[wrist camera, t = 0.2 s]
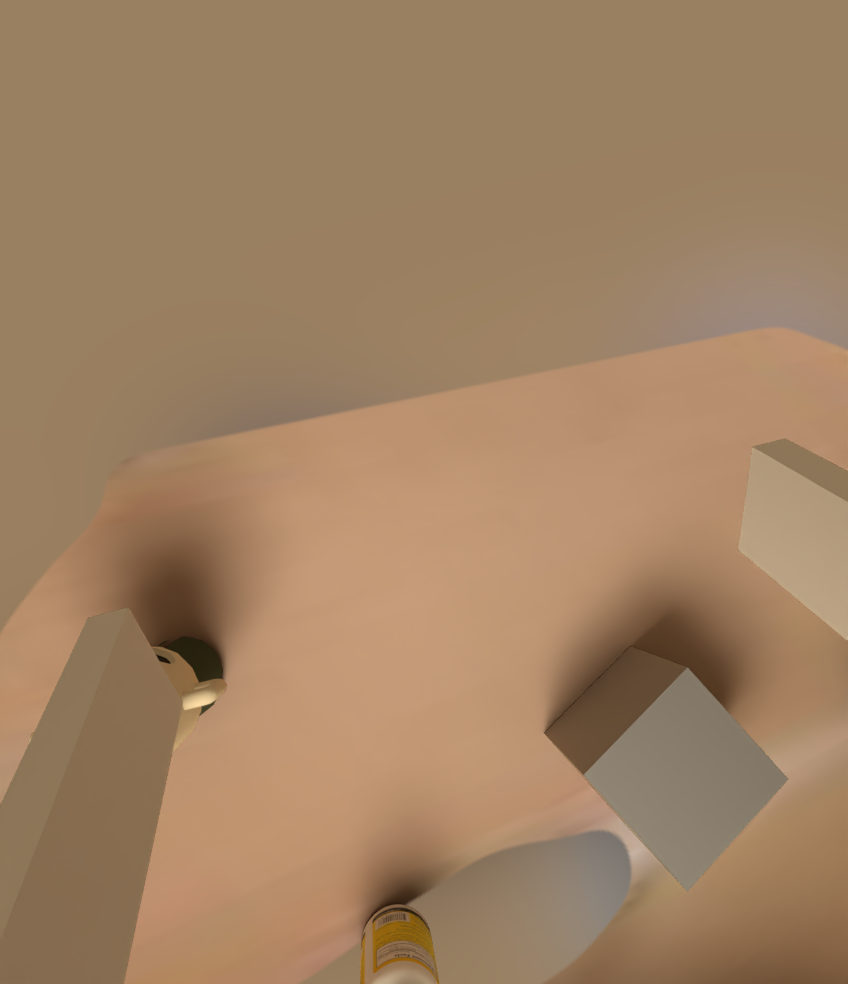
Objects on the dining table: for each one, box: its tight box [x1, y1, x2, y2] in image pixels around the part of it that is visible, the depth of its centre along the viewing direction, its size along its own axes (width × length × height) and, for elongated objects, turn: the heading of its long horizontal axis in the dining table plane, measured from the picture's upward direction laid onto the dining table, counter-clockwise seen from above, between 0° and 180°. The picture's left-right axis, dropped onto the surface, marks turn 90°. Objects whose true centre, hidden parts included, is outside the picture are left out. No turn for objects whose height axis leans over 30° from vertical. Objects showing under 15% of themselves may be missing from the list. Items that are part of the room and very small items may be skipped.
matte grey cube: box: [544, 646, 788, 892], centre depth 43 cm, size 10×10×9 cm
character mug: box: [29, 637, 227, 751], centre depth 38 cm, size 11×7×13 cm, turn 103°
